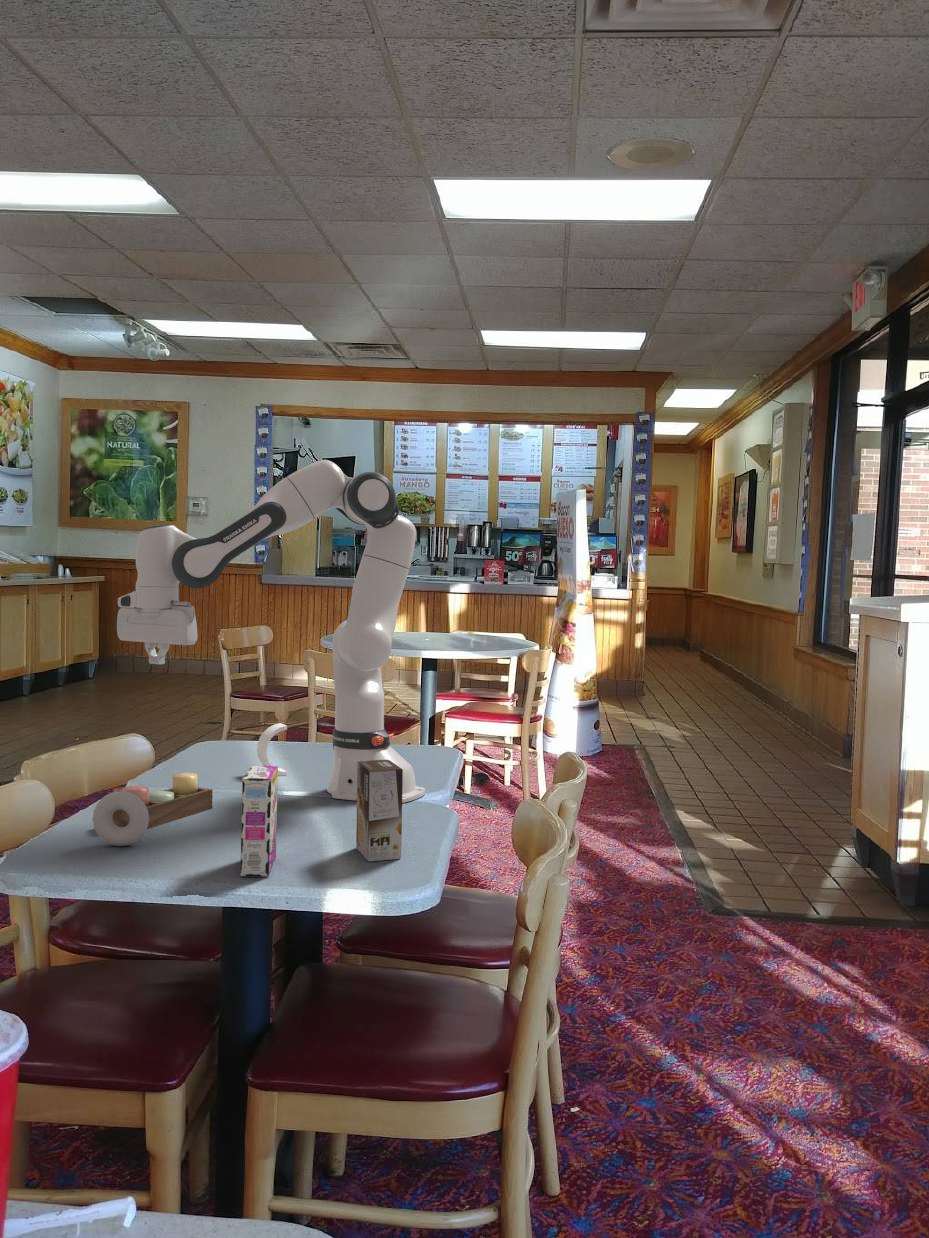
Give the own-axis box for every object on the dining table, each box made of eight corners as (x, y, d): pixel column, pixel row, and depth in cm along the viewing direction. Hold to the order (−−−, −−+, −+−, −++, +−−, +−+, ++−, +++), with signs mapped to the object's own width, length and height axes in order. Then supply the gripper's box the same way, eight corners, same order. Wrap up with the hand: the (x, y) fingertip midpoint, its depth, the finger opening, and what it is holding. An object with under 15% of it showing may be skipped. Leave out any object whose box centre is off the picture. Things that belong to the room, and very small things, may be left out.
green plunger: (179, 812, 194) (179, 792, 194) (161, 817, 190) (161, 797, 189) (160, 809, 196) (160, 789, 196) (142, 814, 192) (142, 794, 192)
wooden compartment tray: (212, 808, 201) (212, 789, 201) (134, 832, 182) (134, 811, 182) (183, 803, 204) (184, 784, 204) (104, 826, 185) (104, 806, 185)
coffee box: (402, 859, 169) (404, 768, 168) (367, 862, 167) (369, 771, 166) (387, 844, 178) (389, 758, 177) (354, 847, 175) (355, 760, 175)
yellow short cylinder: (202, 793, 200) (202, 774, 200) (185, 798, 196) (185, 779, 195) (184, 790, 202) (184, 771, 202) (167, 795, 198) (167, 776, 198)
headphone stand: (286, 775, 234) (287, 726, 233) (262, 777, 231) (263, 727, 230) (280, 771, 238) (281, 723, 237) (256, 773, 235) (257, 724, 234)
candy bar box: (270, 877, 158) (271, 779, 157) (239, 878, 157) (240, 778, 156) (278, 857, 169) (279, 764, 168) (249, 857, 168) (249, 764, 167)
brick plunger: (154, 807, 188) (154, 787, 188) (134, 813, 183) (135, 792, 183) (135, 804, 190) (135, 784, 190) (115, 809, 186) (115, 789, 186)
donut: (151, 843, 175) (151, 789, 175) (145, 849, 172) (145, 793, 171) (96, 842, 175) (96, 788, 175) (89, 848, 172) (89, 792, 171)
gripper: (204, 601, 205) (204, 665, 206) (134, 598, 215) (133, 659, 215) (183, 602, 200) (182, 668, 200) (111, 598, 209) (111, 661, 210)
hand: (156, 663), depth 208 cm, fingers closed
